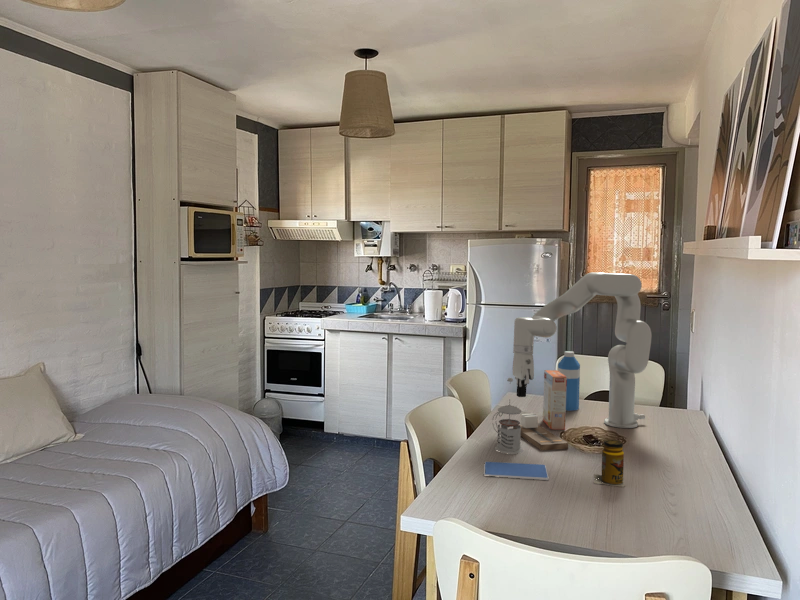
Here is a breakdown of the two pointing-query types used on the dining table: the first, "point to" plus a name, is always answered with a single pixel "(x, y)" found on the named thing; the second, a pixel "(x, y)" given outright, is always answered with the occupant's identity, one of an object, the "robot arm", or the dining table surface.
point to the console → (542, 438)
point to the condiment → (612, 464)
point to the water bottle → (571, 379)
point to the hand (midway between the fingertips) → (521, 396)
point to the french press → (509, 430)
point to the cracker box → (554, 399)
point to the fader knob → (529, 420)
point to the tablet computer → (516, 470)
